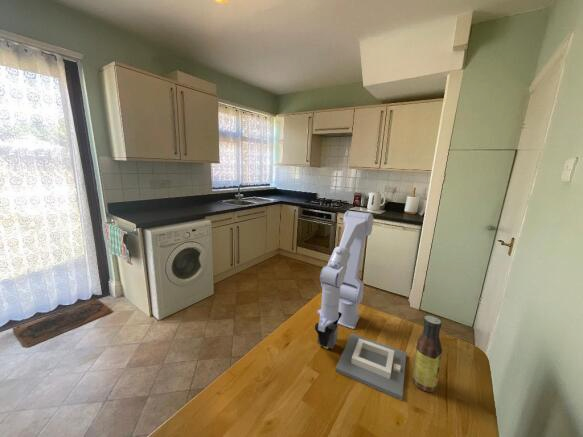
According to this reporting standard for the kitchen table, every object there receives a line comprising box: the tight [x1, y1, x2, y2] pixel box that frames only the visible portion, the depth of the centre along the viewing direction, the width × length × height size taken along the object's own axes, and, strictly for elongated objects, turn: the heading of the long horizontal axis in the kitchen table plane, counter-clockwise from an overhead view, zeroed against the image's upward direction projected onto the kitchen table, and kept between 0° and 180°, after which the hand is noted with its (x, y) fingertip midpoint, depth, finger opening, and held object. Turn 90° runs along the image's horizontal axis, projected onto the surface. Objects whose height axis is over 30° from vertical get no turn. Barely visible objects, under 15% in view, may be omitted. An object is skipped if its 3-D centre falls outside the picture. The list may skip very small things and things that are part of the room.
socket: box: [335, 332, 407, 401], centre depth 73 cm, size 18×18×3 cm
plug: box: [317, 323, 339, 350], centre depth 80 cm, size 4×5×7 cm
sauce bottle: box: [411, 315, 443, 393], centre depth 65 cm, size 6×6×20 cm
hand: (327, 338), depth 80 cm, fingers open, 7 cm apart
